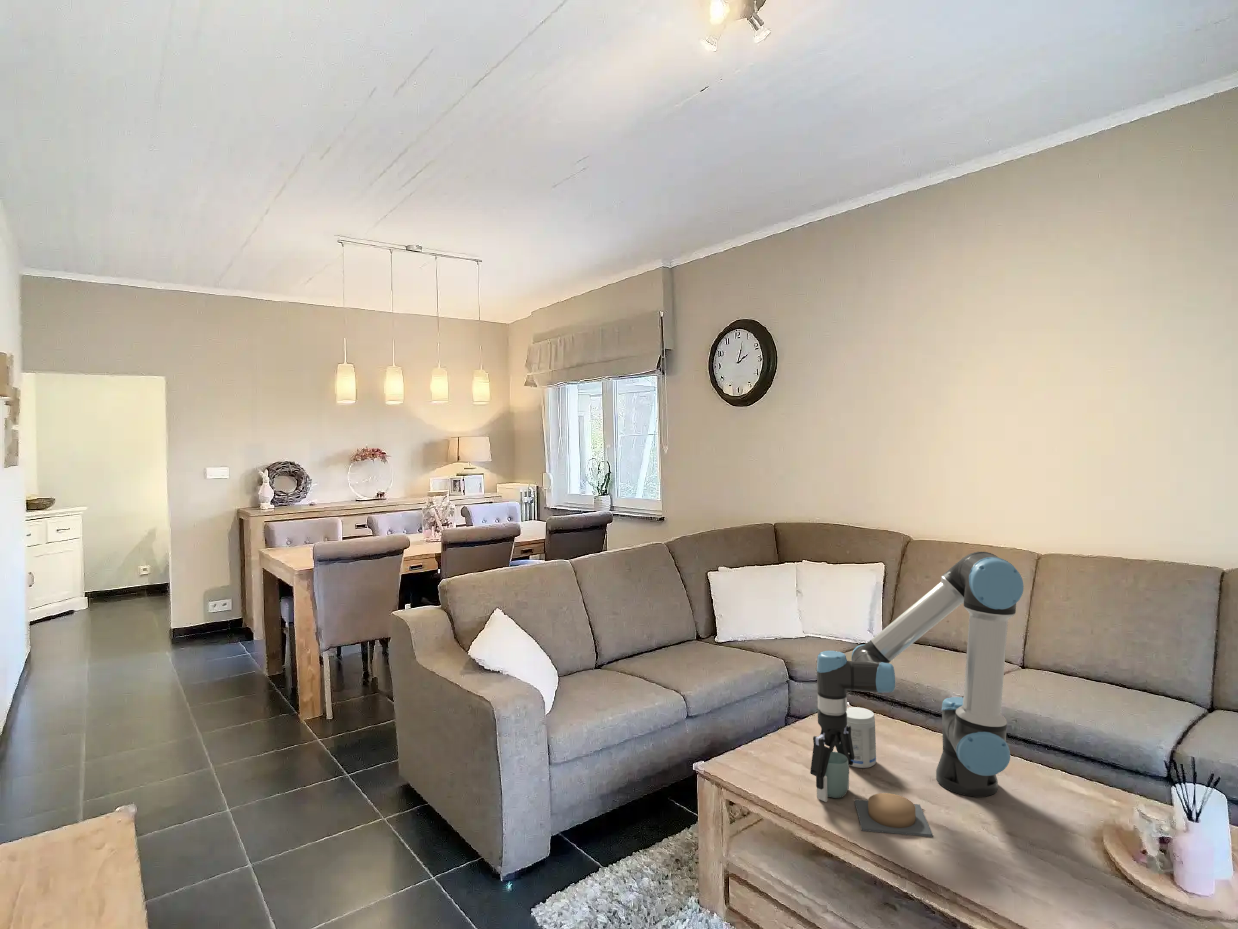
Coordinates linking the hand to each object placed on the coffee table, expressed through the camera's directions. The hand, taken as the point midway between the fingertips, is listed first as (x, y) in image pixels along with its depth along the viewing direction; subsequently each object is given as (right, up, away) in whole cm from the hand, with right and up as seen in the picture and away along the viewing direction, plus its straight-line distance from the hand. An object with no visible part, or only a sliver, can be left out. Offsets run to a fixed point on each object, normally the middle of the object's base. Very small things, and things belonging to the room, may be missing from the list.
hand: (833, 793), depth 185 cm
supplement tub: (+13, 0, +19) cm, 23 cm away
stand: (+11, 0, -13) cm, 17 cm away
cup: (0, 0, 0) cm, 0 cm away
